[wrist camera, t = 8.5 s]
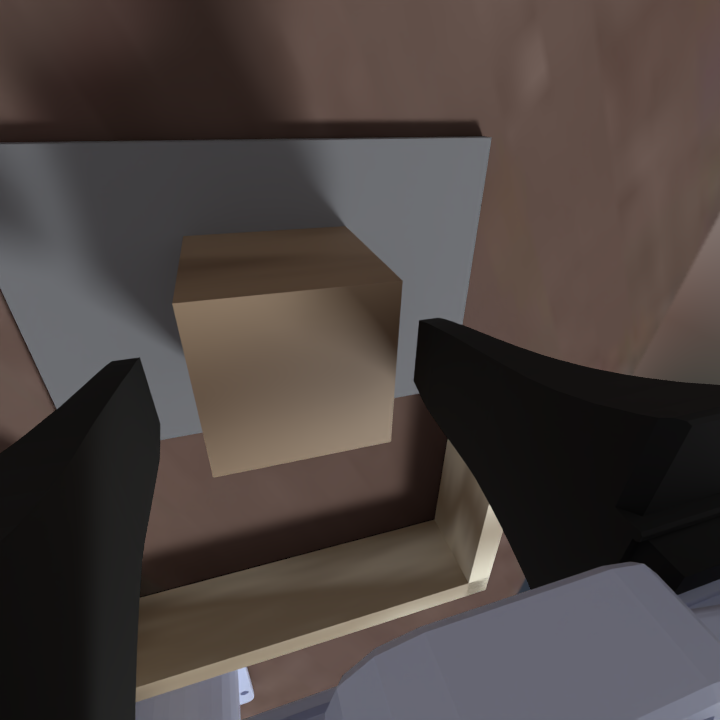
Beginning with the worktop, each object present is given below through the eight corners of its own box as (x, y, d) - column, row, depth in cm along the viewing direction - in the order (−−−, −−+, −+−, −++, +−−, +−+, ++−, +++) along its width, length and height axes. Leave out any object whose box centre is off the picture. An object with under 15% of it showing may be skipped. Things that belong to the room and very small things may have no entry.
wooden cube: (345, 356, 17) (390, 441, 12) (211, 375, 15) (212, 477, 11) (345, 226, 14) (402, 280, 10) (183, 236, 13) (172, 303, 9)
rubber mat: (447, 381, 20) (452, 387, 19) (81, 445, 16) (78, 454, 15) (483, 136, 14) (491, 137, 14) (-56, 143, 10) (-67, 145, 10)
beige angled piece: (450, 527, 26) (485, 589, 23) (118, 618, 21) (102, 712, 18) (476, 392, 20) (527, 449, 17) (39, 474, 16) (-5, 572, 13)
